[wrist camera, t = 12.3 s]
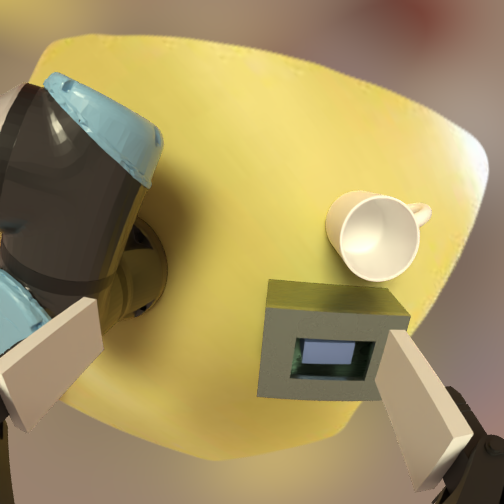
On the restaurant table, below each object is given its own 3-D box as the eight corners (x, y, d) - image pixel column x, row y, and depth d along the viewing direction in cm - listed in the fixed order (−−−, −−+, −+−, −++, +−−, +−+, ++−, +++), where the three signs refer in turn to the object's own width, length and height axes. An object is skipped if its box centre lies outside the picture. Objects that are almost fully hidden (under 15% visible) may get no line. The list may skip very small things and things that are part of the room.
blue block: (299, 338, 41) (301, 363, 35) (301, 319, 40) (304, 341, 34) (342, 340, 40) (350, 364, 35) (345, 320, 40) (355, 343, 34)
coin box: (261, 357, 43) (256, 396, 34) (268, 279, 40) (265, 307, 31) (368, 363, 42) (383, 400, 33) (386, 288, 39) (410, 315, 30)
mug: (401, 173, 35) (439, 174, 25) (417, 233, 37) (456, 252, 27) (315, 202, 37) (328, 212, 27) (335, 264, 39) (353, 293, 29)
